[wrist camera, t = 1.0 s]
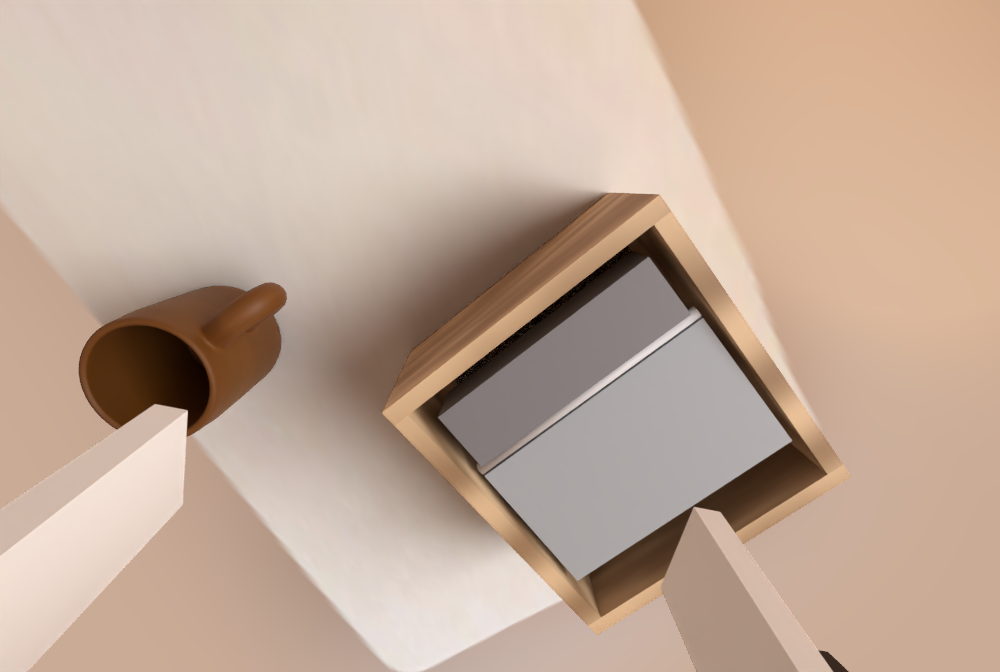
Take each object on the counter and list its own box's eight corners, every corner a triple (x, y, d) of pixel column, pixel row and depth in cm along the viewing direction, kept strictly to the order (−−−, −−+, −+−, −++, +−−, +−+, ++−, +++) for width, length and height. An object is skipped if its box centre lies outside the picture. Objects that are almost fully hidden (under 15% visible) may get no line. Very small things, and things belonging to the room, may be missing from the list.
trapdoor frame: (410, 351, 37) (381, 412, 26) (608, 192, 34) (659, 194, 24) (570, 526, 41) (597, 635, 31) (756, 400, 38) (851, 476, 28)
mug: (282, 225, 34) (207, 238, 25) (353, 313, 36) (308, 355, 27) (156, 322, 36) (43, 367, 26) (230, 401, 37) (148, 469, 28)
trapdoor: (440, 398, 31) (431, 422, 27) (638, 245, 28) (657, 250, 25) (571, 547, 33) (578, 588, 29) (764, 418, 31) (799, 446, 27)
